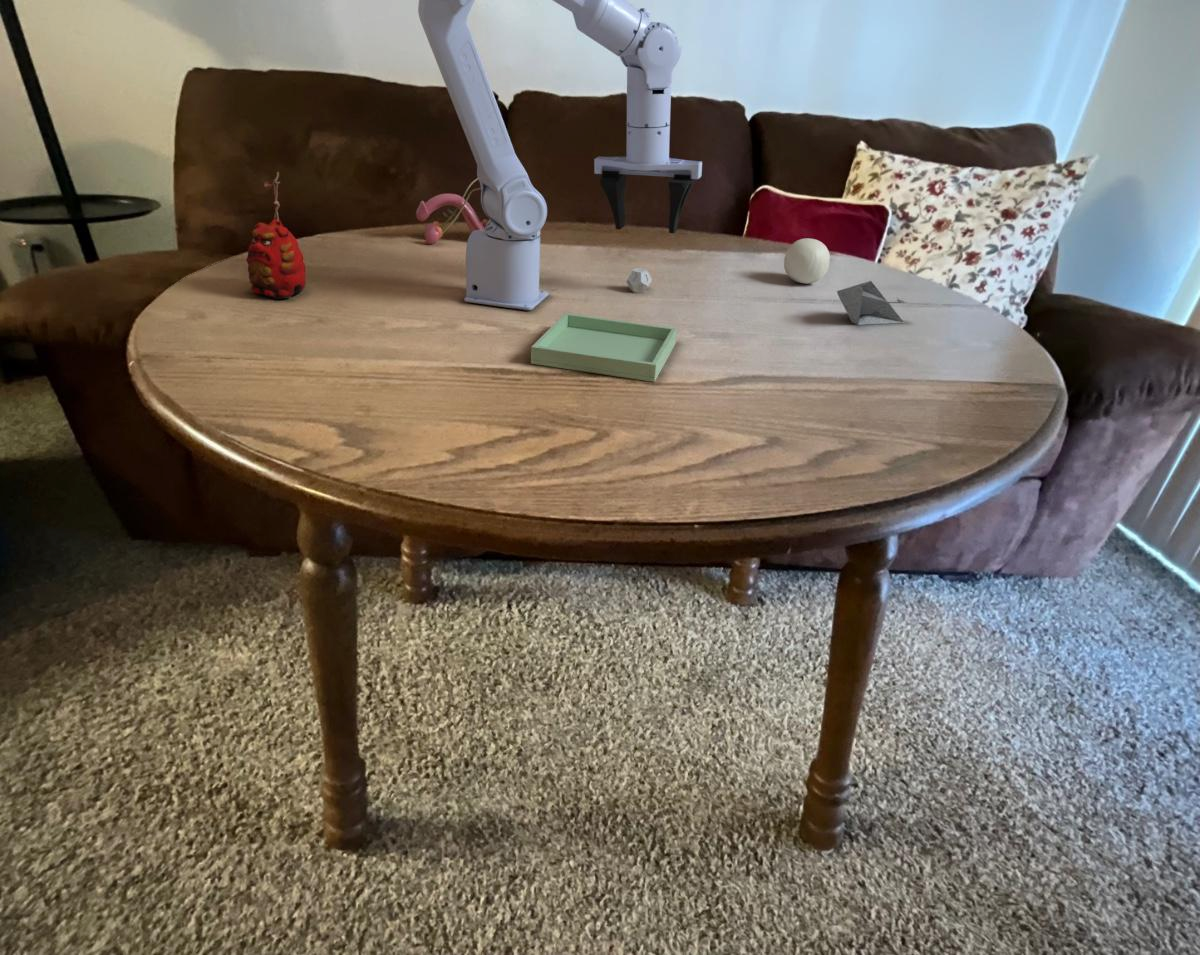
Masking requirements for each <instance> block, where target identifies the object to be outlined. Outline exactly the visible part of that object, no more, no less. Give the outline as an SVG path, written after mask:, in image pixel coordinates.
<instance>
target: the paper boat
mask: <svg viewBox="0 0 1200 955" xmlns="http://www.w3.org/2000/svg"><path fill="white" fill-rule="evenodd" d="M836 293H837V296H838V298H839V300H840V301H841V304H842V305H843V308H844V310H845V312H846V314H847V315H848V318H849V320H850V321H851V323H852V324H855V325H858V326H863V325H881V324H899V323H900V324H901V323H905V322H904V320H903V319H902V318H901V316H900V315H899V314H898V313H897V311H896V310H895V309H894V308H893V306H892V305H891V304H906V303H907V301H905V300H903V299H900V298H898V297H896V298H895V299H896V301H888V300H887V299H886V298H885V296H884V295H883V293H881V291H880V290H879V289H878V288H877V286H876V285H875V284H874V283H873V281H872V280H869V281H865V282H861V283H859V284H856V285H853V286H849V287H846V288H842V289H839V290H837V291H836Z"/></svg>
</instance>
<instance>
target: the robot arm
mask: <svg viewBox="0 0 1200 955" xmlns="http://www.w3.org/2000/svg"><path fill="white" fill-rule="evenodd" d="M552 1H553V2H554V3H556V4H558V5H560V6H561V7H563V8H564V9H566V10H568V11H569V12H570V13H572V16H573V19H574V24H575V27H576V29H577V30H578V31H579V32H581V33H582V34H583V35H585V36H587V37H588V38H589V39H591V40H593V41H594V42H596V43H597V44H599V45H600V46H602V47H603V48H605V49H606V50H608V51H610V52H611V53H612V54H614V55H615V56H617V57H619V59H620V61H621V63H622V64H623V66H624V67H625V68H626V144H625V145H626V148H625V150H626V154H625V155H626V156H597V157H596V158H594V160H593V161H594V162H593V163H594V164H593V165H594V167H593V168H594V172H593V173H594V174H595V175H601V178H599V184H600V187H601V188H602V190H603V193H604V194H605V197H606V199H607V201H608V203H609V206H610V209H611V212H612V216H613V220H614V227H615V230H622V229H623V228H624V227H625V226H626V225H625V224H626V204H625V202H626V201H625V200H626V188H627V178H628V175H633V176H649V177H650V176H651V177H669V178H670V177H671V178H672V179H670V180H669V181H668V189H669V190H668V192H669V220H668V233H669V234H675V233H676V232H677V231H678V227H679V222H680V217H681V214H682V211H683V208H684V205H685V203H686V200H687V198H688V195H689V193H690V191H691V189H692V187H693V185H694V182H695V181H696V180H699V179H701V178H702V176H703V174H702V173H703V161H700V160H699V161H698V160H687V159H680V158H672V157H670V140H671V139H670V137H671V136H670V135H671V108H672V107H671V105H672V103H671V102H672V101H671V100H672V80H673V79H672V78H673V71H674V69H675V67H676V66H677V64H678V62H679V60H680V58H681V54H682V46H680V45H679V41H678V37H677V36H676V33H675V31H674V30H673V28H672V27H671V26H670V25H668V24H666V23H664V22H659V21H658V22H657V21H651V18H650V15H651V12H650V10H648V9H647V8H645V7H640V9H639V8H638V7H637V6H635V5H634V4H633V3H630V1H628V0H552ZM474 3H475V0H418V6H417V12H418V18H419V21H420V24H421V26H422V29H423V32H424V33H425V37H426V39H427V41H428V44H429V47H430V49H431V51H432V54H433V57H434V59H435V62H436V64H437V67H438V70H439V72H440V74H441V77H442V79H443V81H444V84H445V87H446V89H447V92H448V94H449V98H450V100H451V102H452V105H453V108H454V110H455V112H456V115H457V117H458V120H459V122H460V125H461V127H462V130H463V132H464V135H465V137H466V140H467V142H468V145H469V148H470V150H471V153H472V156H473V157H474V161H475V163H476V166H477V167H476V178H478V181H479V185H480V188H481V189H480V205H481V208H482V211H483V213H485V214H486V215H487V216H488V217H489V221H488V223H487V225H486V227H485V230H475V231H473V232H472V233H471V232H470V234H469V236H468V239H467V242H466V248H465V285H466V290H465V291H466V296H465V297H464V298H463V300H464V302H466V303H472V304H479V305H480V304H481V305H485V306H486V305H487V306H494V307H500V308H502V307H503V308H507V309H508V308H509V309H516V310H522V311H532V310H533V309H535V307H537V306H538V305H539V304H540V303H541V302H542V301H544V300H545V299H546V298H547V297H548V296H549V292H548V291H546V290H545V291H544V290H540V272H541V271H540V266H541V230H542V229H543V227H544V224H545V223H546V221H547V216H548V206H547V202H546V200H545V198H544V196H543V195H542V194H541V193H540V192H539V191H538V190H537V189H536V188H535V187H534V186H533V184H532V182H531V180H530V177H529V175H528V174H529V173H527V171H526V169H525V167H524V166H523V164H522V162H521V161H520V159H519V158H518V156H517V154H516V152H515V150H514V146H513V143H512V141H511V138H510V136H509V132H508V130H507V128H506V124H505V121H504V119H503V116H502V113H501V111H500V108H499V106H498V102H497V100H496V98H495V94H494V91H493V89H492V86H491V84H490V81H489V78H488V75H487V73H486V70H485V67H484V65H483V64H484V63H483V62H482V59H481V56H480V53H479V50H478V47H477V45H476V42H475V40H474V37H473V33H472V32H471V29H470V25H469V23H468V16H469V14H470V12H471V10H472V7H473V5H474ZM485 214H484V215H485Z"/></svg>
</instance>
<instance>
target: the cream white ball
mask: <svg viewBox="0 0 1200 955" xmlns="http://www.w3.org/2000/svg"><path fill="white" fill-rule="evenodd" d="M830 262H831V255H830V251H829V249H828V248H827V246H826V245H825V244H824V243H823V242H822V241H820V240H818V239H815V238H809V237H808V238H801V239H798V240H796V241H794V242H793V243H792V244H791V245H789V247H788V248H787V250H786V252H785V254H784V258H783V266H784V267H783V268H784V271H785V273H786V275H787V276H788V277H789V278H790V279H791V280H793V281H794V282H796V283H799V284H805V285H806V284H807V285H809V284H814V283H816V282H818V281H820V280H821V279H822V278H824V276H826V274H827V272H828V269H829V267H830Z"/></svg>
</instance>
